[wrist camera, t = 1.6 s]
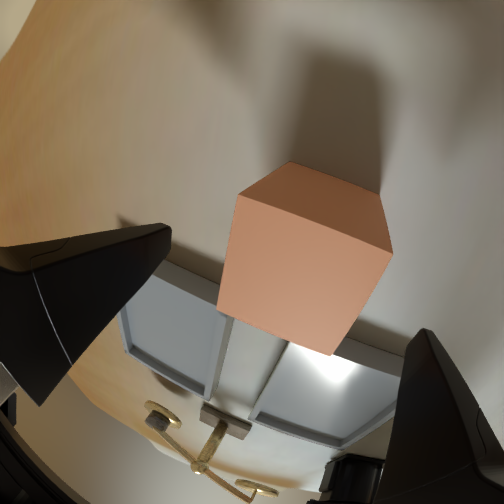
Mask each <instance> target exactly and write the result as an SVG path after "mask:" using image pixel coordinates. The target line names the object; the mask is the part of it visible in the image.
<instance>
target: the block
mask: <svg viewBox="0 0 504 504" xmlns="http://www.w3.org/2000/svg"><path fill="white" fill-rule="evenodd" d="M392 256H393V250H392V245H391V240H390V236H389V231H388V227H387V222H386V218H385V214H384V210H383V206H382V202H381V199H380V195H378V194H376V193H373V192H371V191H369V190H366V189H364V188H361V187H359V186H356V185H354V184H351V183H349V182H346V181H344V180H341V179H338V178H336V177H333V176H330V175H328V174H325V173H322V172H319V171H316V170H314V169H311V168H308V167H305V166H302V165H299V164H296V163H293V162H288V163H286V164H285V165H283V166H281V167H280V168H278V169H277V170H275V171H273V172H272V173H270V174H269V175H267V176H266V177H264V178H262V179H261V180H259V181H258V182H256V183H255V184H253V185H252V186H250V187H248V188H247V189H245V190H244V191H242V192H241V193H239V194H238V197H237V201H236V206H235V211H234V216H233V221H232V226H231V232H230V237H229V242H228V247H227V252H226V258H225V263H224V268H223V274H222V279H221V285H220V290H219V296H218V301H217V307H216V310H218V311H220V312H222V313H225V314H227V315H229V316H231V317H233V318H236V319H238V320H240V321H242V322H245V323H247V324H249V325H251V326H254V327H256V328H258V329H261V330H263V331H265V332H268V333H270V334H273V335H275V336H277V337H280V338H282V339H285V340H287V341H290V342H292V343H295V344H297V345H300V346H302V347H305V348H307V349H310V350H313V351H315V352H318V353H320V354H323V355H326V356H328V357H331V356H332V354H333V353H334V351H335V350H336V348H337V347H338V346H339V344H340V343H341V341H342V340H343V338H344V337H345V335H346V334H347V332H348V331H349V329H350V328H351V326H352V325H353V323H354V321H355V320H356V318H357V317H358V315H359V314H360V312H361V310H362V309H363V307H364V305H365V304H366V302H367V301H368V299H369V297H370V295H371V294H372V292H373V290H374V289H375V287H376V285H377V283H378V282H379V280H380V278H381V276H382V274H383V273H384V271H385V269H386V267H387V265H388V263H389V261H390V260H391V258H392Z"/></svg>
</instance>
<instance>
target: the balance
mask: <svg viewBox="0 0 504 504" xmlns="http://www.w3.org/2000/svg"><path fill="white" fill-rule="evenodd" d="M144 406H145V408H146V410H147V411H148V412H149V413H150V414H149V416H148V417H147V418H146V420H145V423H146V424H147V425H148V426H149V427H151V428H152V429H153V430H154V431H155V432H156V433H157V434H158V435H159V436H160V437H161V438H162V439H164V440H165V441H166V442H167V443H168V444H169V445H170V446H171V447H172V448H173V449H174V450H176V451H177V452H178V453H179V454H180V455H181V456H182V457H184V458H185V459H186V460H187V461H188V462H189V463H191V469H192V471H193V472H195V473H196V474H205V475H206V476H207V477H208V478H210V479H211V480H212V481H214V482H215V483H217V484H218V485H219V486H221V487H222V488H224V489H225V490H226V491H228V492H230V493H231V494H232V495H234V496H235V497H237V498H238V499H240V500H242V501H243V502H245V503H246V504H250V503H251V502H252V501H253V499H254V497H255V494H259V495H263V496H269V497H278V495H279V492H278V491H277V490H275V489H273V488H270V487H268V486H265V485H262V484H258V483H255V482H251V481H247V480H242V479H237V480H236V481H235V485H237V486H238V487H240V488H242V489H244V490H247V491H250V492H252V493H253V495H252V497H251V498H250V497H248V496H246V495H245V494H243V493H242V492H240V491H239V490H237V489H236V488H234V487H233V486H231V485H230V484H228V483H227V482H225V481H224V480H223V479H221V478H220V477H218V476H217V475H216V474H214V473H213V472H212V471H210V470H209V465H208V464H209V462H210V461H211V459H212V457H213V455H214V453H215V452H216V450H217V448H218V446H219V445H220V443H221V441H222V439H223V437H224V435H225V434H226V433H227V434H229V435H232V436H234V437H236V438H239V439H241V440H244V438H245V437H246V435H247V434H248V433H249V431H250V429H251V427H252V426H251V425H248V424H246V423H244V422H241V421H239V420H237V419H234V418H232V417H230V416H228V415H225V414H223V413H221V412H219V411H217V410H215V409H213V408H211V407H209V406H207V405H205V404H204V405H203V407H202V409H201V413H200V421H202V422H204V423H206V424H208V425H210V426H212V427H214V428H215V429H214V431H213V432H212V434H211V436H210V438H209V439H208V441H207V443H206V444H205V446H204V448H203V449H202V451H201V453H200V455H199V456H198V458H197V459H195V458H194V457H193V456H192V455H190V454H189V453H188V452H187V451H186V450H185V449H183V448H182V447H181V446H180V445H179V444H178V443H177V442H175V441H174V440H173V439H172V438H171V437H170V436H169V435H168V434H167V433H166V432H165V431H166V429H167V428H168V426H170V427H172V428H176V429H179V428H180V427H181V425H182V422H181V421H180V420H179V418H178V417H177V416H175V415H174V414H173V413H172V412H170V411H169V410H168V409H166V408H165V407H163V406H161V405H159V404H158V403H155V402H153V401H146V403H145V404H144Z"/></svg>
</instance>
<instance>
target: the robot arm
mask: <svg viewBox="0 0 504 504" xmlns="http://www.w3.org/2000/svg"><path fill="white" fill-rule="evenodd" d="M171 236H172V229H171V227H170V226H168V225H166V224H163V223H155V224H148V225H141V226H135V227H128V228H122V229H115V230H109V231H103V232H97V233H91V234H85V235H79V236H74V237H71V238H70V237H68V238H63V239H57V240H51V241H45V242H38V243H31V244H23V245H16V246H9V247H0V504H90V503H89V502H88V501H86V500H85V499H84V498H83V497H81V496H80V495H79V494H78V493H77V492H75V491H74V490H73V489H72V488H71V487H69V486H68V485H67V484H66V483H65V482H64V481H63V480H62V479H61V478H60V477H58V476H57V475H56V474H55V473H54V472H53V471H52V470H51V469H50V468H49V467H48V466H47V465H46V464H45V463H44V462H43V461H42V460H41V459H40V458H39V457H38V455H37V454H36V453H35V452H34V451H33V450H32V449H31V448H30V447H29V445H28V444H27V443H26V442H25V441H24V440H23V438H22V437H21V436H20V435H19V434H18V432H17V431H16V430H15V428H14V425H15V424H16V393H15V392H14V391H15V390H16V389H17V388H18V387H19V386H20V387H21V388H22V389H23V390H24V392H25V393H26V394H27V395H28V396H29V397H30V398H31V399H32V400H33V401H34V402H35V403H36V404H37V405H38V407H40V406H41V405H42V404H43V403H44V401H45V400H46V399H47V397H48V396H49V395H50V393H51V392H52V391H53V390H54V388H55V387H56V386H57V384H58V383H59V382H60V381H61V379H62V378H63V377H64V376H65V374H66V373H67V372H68V371H69V369H70V368H71V367H72V365H73V364H74V363H75V362H76V361H77V360H78V358H79V357H80V356H81V355H82V354H83V352H84V351H85V350H86V349H87V348H88V346H89V345H90V344H91V343H92V342H93V341H94V339H95V338H96V337H97V336H98V335H99V334H100V333H101V331H102V330H103V329H104V328H105V327H106V326H107V325H108V323H109V322H110V321H111V320H112V319H113V318H114V317H115V316H116V315H117V313H118V312H119V311H120V310H121V309H122V308H123V307H124V306H125V305H126V304H127V302H128V301H129V300H130V299H131V298H132V297H133V296H134V295H135V294H136V293H137V292H138V291H139V290H140V288H141V287H142V286H143V285H144V284H145V283H146V282H147V280H148V279H149V278H150V277H151V275H152V274H153V273H154V271H155V270H156V269H157V267H158V266H159V265H160V264H161V262H162V261H163V260H164V258H165V257H166V256H167V255H168V253H169V251H170V249H171ZM382 469H383V472H382ZM381 472H382V475H381ZM380 477H381V479H380ZM319 492H322V493H321V496H320V499H319V501H316V500H313V499H310V501H307V503H306V504H504V450H503V449H502V447H501V445H500V443H499V441H498V439H497V438H496V436H495V434H494V432H493V430H492V429H491V427H490V425H489V423H488V421H487V419H486V418H485V416H484V414H483V412H482V410H481V408H479V405H478V403H477V401H476V399H475V397H474V396H473V394H472V392H471V390H470V389H469V387H468V385H467V384H466V382H465V380H464V379H463V377H462V375H461V374H460V372H459V370H458V369H457V367H456V366H455V364H454V363H453V361H452V359H451V358H450V356H449V355H448V353H447V352H446V350H445V349H444V347H443V346H442V344H441V343H440V341H439V340H438V338H437V337H436V336H435V334H434V333H433V332H432V331H431V330H428V329H425V328H422V329H420V330H419V332H418V333H417V334H416V335H415V337H414V338H413V339H412V340H411V342H410V343H409V344H408V346H407V348H406V352H405V358H404V364H403V369H402V374H401V379H400V383H399V389H398V395H397V403H396V410H395V416H394V422H393V427H392V433H391V438H390V443H389V447H388V452H387V456H386V460H385V461H381V460H376V459H370V458H365V457H360V456H355V455H350V454H348V455H345V456H343V457H341V458H339V459H337V460H335V461H333V462H331V463H329V464H327V465H325V472H324V476H323V479H322V482H321V485H320V488H319Z"/></svg>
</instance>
